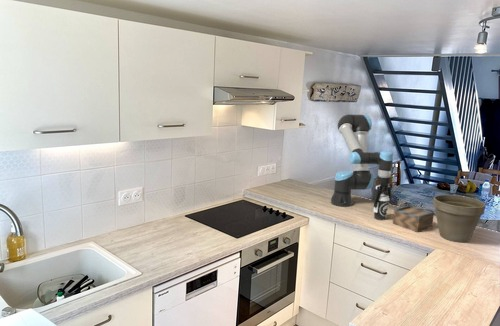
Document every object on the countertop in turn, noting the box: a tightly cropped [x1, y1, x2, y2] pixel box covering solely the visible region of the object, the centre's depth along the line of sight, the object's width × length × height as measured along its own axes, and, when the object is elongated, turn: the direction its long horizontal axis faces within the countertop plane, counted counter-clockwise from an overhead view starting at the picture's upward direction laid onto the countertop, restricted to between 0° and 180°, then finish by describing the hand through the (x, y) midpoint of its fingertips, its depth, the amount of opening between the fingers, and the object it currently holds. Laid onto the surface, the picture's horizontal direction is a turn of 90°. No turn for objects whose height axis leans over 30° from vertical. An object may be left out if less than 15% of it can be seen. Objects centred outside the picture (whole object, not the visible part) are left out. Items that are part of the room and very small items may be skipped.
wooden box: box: [392, 205, 435, 233], centre depth 218 cm, size 16×16×9 cm
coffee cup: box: [373, 193, 391, 221], centre depth 227 cm, size 10×10×15 cm
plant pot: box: [432, 194, 487, 243], centre depth 200 cm, size 25×25×22 cm
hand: (380, 210), depth 228 cm, fingers closed on coffee cup, 9 cm apart
